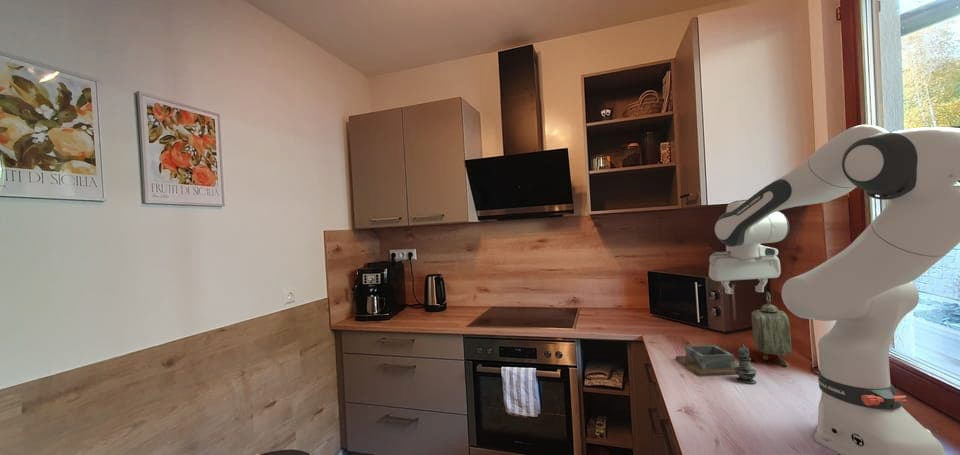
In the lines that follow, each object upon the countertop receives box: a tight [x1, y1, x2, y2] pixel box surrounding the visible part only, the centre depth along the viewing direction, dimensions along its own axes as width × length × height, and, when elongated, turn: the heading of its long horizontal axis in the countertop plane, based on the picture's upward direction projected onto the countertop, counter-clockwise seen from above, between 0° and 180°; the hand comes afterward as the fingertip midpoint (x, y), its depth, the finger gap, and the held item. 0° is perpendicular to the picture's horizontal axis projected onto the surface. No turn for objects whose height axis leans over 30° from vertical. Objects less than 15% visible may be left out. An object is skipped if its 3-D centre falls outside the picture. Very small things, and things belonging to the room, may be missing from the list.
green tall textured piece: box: [750, 291, 793, 367], centre depth 128 cm, size 14×9×25 cm, turn 148°
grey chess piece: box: [734, 343, 758, 385], centre depth 113 cm, size 6×6×12 cm
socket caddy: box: [675, 344, 739, 377], centre depth 127 cm, size 16×16×6 cm
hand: (744, 292), depth 113 cm, fingers open, 8 cm apart
